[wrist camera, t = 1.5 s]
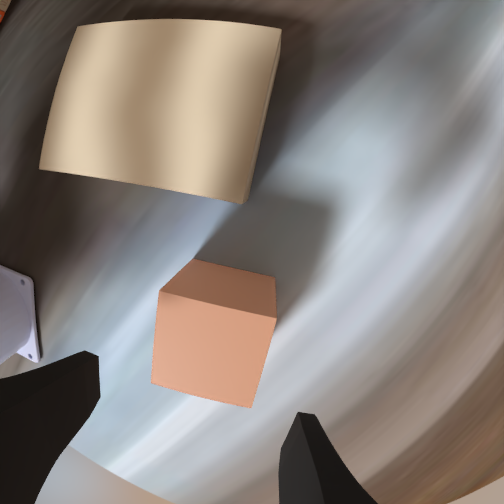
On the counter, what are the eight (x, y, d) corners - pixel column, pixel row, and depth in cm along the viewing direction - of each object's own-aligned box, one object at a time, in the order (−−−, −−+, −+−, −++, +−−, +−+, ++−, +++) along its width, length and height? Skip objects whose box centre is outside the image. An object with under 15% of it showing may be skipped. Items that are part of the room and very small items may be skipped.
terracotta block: (181, 331, 19) (150, 383, 14) (192, 258, 18) (159, 290, 12) (256, 349, 19) (251, 408, 13) (275, 276, 18) (276, 318, 12)
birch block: (75, 169, 18) (38, 169, 14) (106, 47, 16) (77, 26, 12) (248, 200, 18) (241, 204, 14) (279, 59, 16) (281, 29, 12)
